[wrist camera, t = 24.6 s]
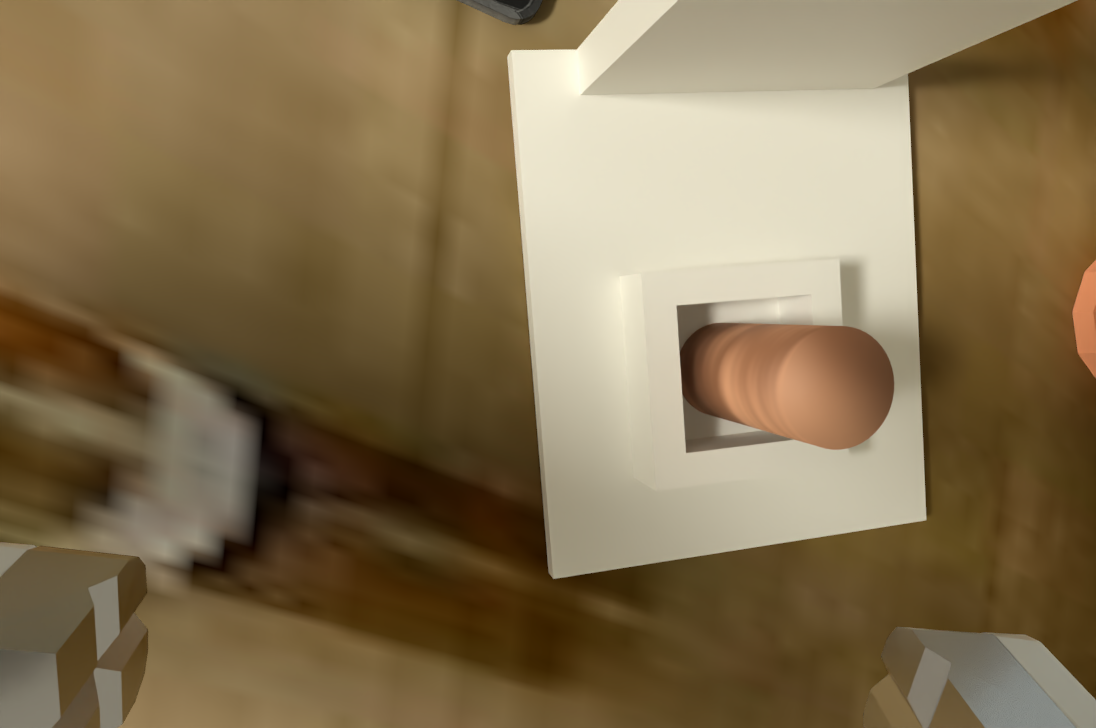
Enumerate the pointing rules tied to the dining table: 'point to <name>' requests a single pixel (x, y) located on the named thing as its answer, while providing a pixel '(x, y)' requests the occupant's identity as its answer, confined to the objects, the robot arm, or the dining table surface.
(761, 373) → the peg
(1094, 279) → the potted cactus
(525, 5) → the phone
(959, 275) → the dining table surface
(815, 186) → the awning socket
